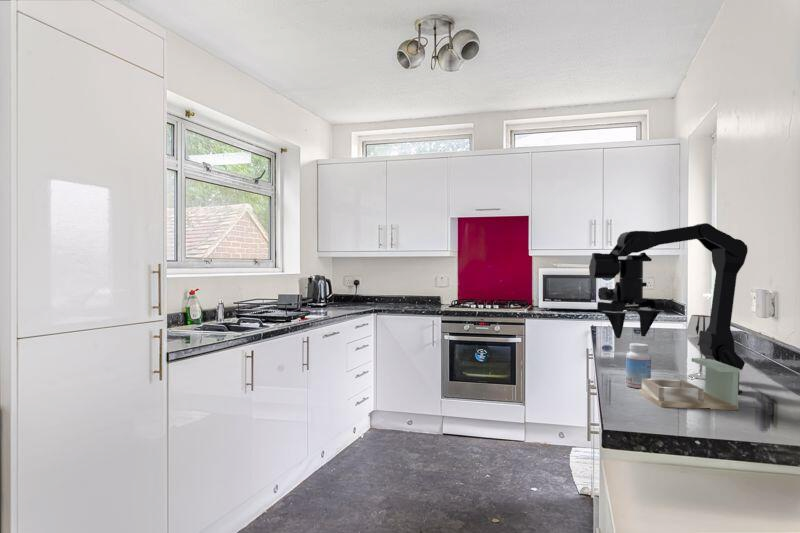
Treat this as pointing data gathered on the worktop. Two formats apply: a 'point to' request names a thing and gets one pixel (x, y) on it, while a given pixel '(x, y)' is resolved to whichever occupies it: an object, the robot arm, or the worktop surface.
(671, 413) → the worktop surface
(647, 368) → the pill bottle
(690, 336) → the wineglass
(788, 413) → the worktop surface
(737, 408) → the socket board
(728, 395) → the awning
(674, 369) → the worktop surface
